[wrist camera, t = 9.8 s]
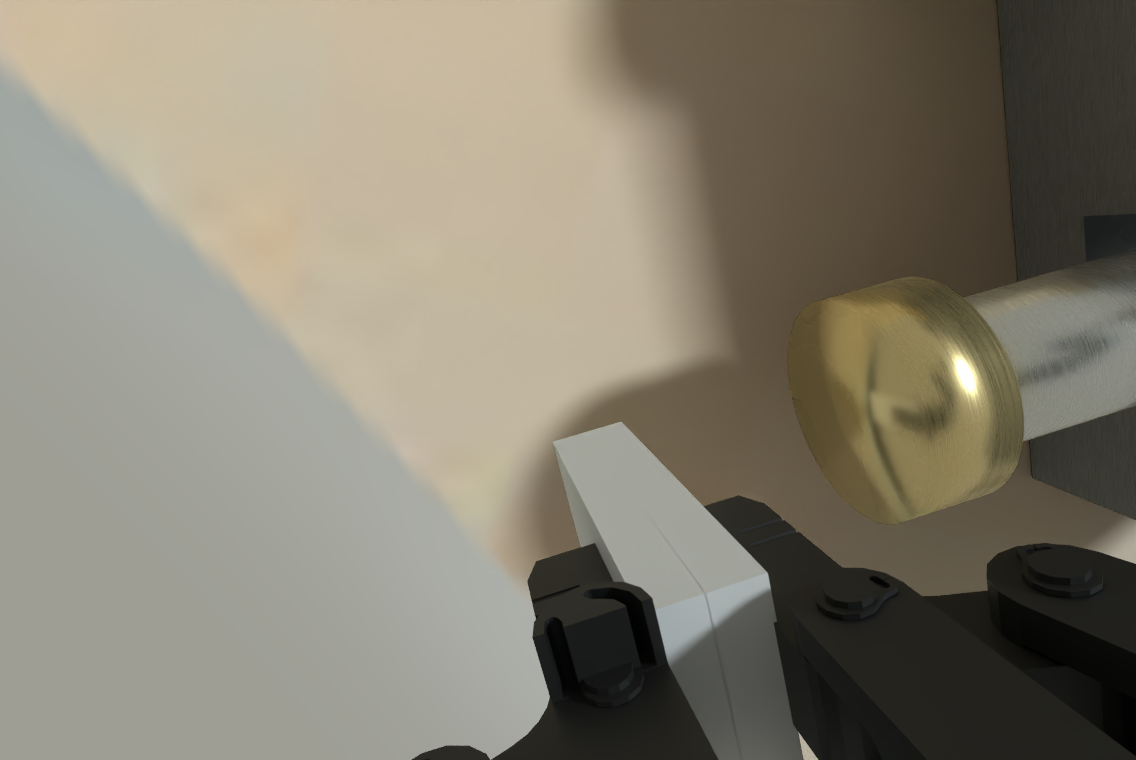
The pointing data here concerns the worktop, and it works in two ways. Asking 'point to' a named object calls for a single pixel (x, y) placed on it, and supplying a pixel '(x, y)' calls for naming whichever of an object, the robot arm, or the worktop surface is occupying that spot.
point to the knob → (957, 380)
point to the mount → (1074, 192)
